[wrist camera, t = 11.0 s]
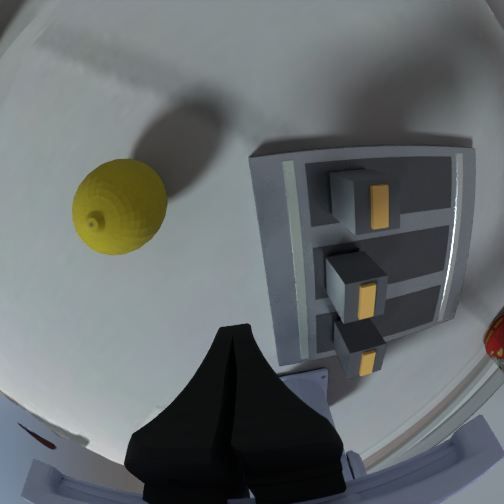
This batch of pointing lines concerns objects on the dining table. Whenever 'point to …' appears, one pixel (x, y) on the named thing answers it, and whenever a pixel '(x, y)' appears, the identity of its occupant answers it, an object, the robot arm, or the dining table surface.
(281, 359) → the panel
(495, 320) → the soda can
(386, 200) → the breaker
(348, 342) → the block
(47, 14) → the dining table surface
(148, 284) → the dining table surface
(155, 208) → the lemon
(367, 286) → the breaker
